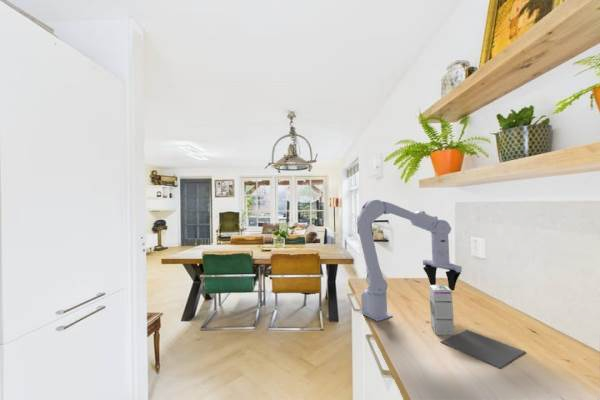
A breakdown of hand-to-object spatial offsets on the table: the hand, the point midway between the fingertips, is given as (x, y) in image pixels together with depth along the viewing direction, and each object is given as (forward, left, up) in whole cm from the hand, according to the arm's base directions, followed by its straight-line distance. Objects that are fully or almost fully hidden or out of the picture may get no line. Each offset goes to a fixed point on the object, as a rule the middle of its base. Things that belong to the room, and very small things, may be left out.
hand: (442, 287), depth 103 cm
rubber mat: (+19, -12, -10) cm, 25 cm away
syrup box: (+7, -12, -11) cm, 18 cm away
